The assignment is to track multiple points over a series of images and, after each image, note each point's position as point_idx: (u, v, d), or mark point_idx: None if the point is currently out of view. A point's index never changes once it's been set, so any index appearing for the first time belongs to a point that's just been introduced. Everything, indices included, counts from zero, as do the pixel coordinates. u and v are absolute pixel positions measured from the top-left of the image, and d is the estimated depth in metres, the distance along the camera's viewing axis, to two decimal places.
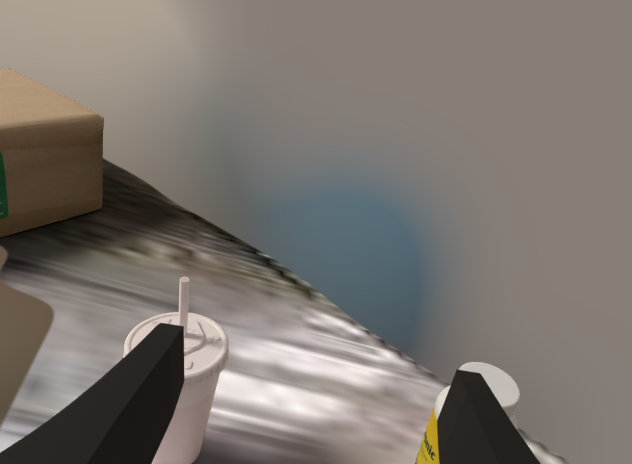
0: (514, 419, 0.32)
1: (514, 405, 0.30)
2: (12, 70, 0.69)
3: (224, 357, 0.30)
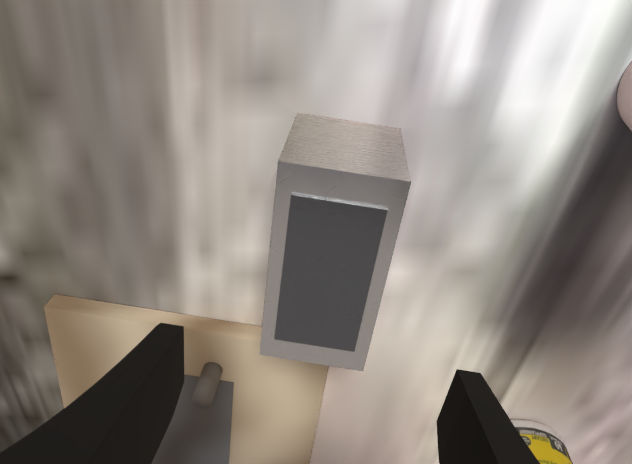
0: None
1: None
2: None
3: None
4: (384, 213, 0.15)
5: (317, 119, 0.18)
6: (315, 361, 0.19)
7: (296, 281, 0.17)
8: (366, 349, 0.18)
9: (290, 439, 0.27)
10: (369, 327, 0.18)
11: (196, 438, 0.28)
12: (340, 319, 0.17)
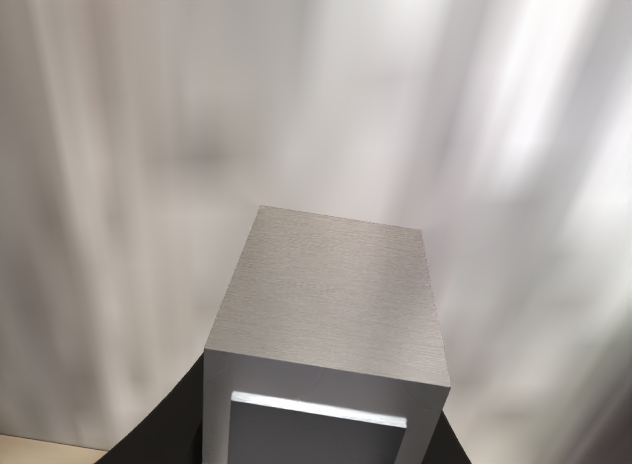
0: None
1: None
2: None
3: None
4: (401, 431, 0.08)
5: (290, 221, 0.12)
6: None
7: None
8: None
9: None
10: None
11: None
12: None
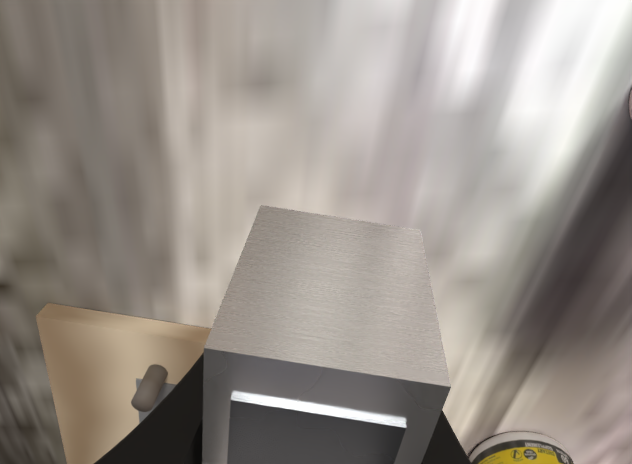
0: None
1: None
2: None
3: None
4: (401, 431, 0.08)
5: (290, 221, 0.12)
6: None
7: None
8: None
9: None
10: None
11: None
12: None
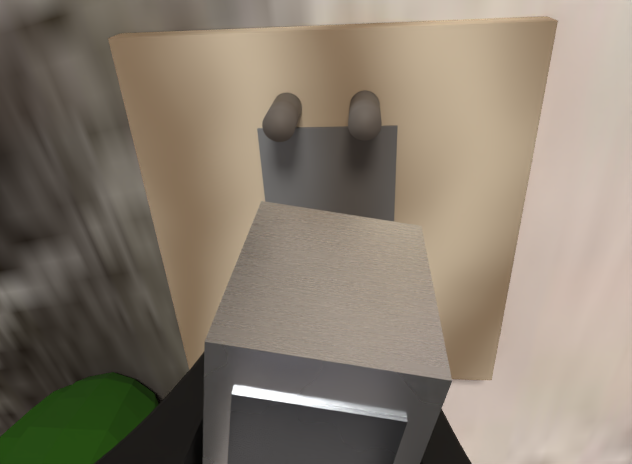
0: None
1: None
2: None
3: None
4: (402, 425, 0.08)
5: (291, 216, 0.12)
6: None
7: None
8: None
9: (484, 223, 0.18)
10: None
11: None
12: None
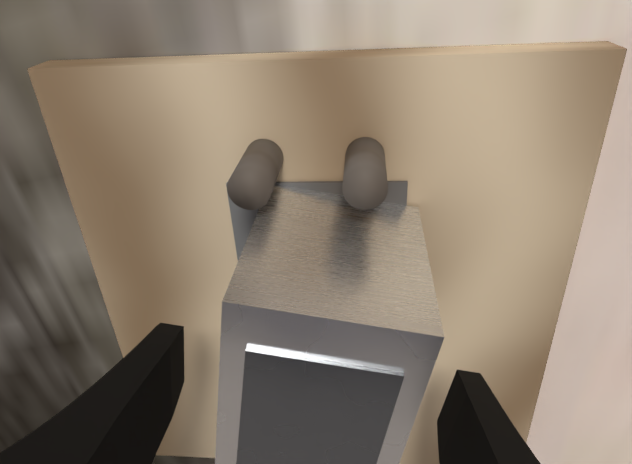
0: None
1: None
2: None
3: None
4: (400, 380, 0.09)
5: (297, 197, 0.13)
6: None
7: (260, 459, 0.11)
8: None
9: (517, 299, 0.14)
10: None
11: None
12: None
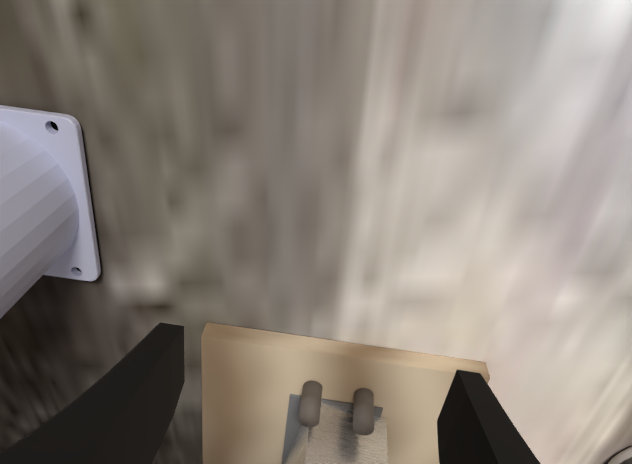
0: None
1: None
2: None
3: None
4: None
5: (326, 411, 0.25)
6: None
7: None
8: None
9: (430, 462, 0.27)
10: None
11: None
12: None
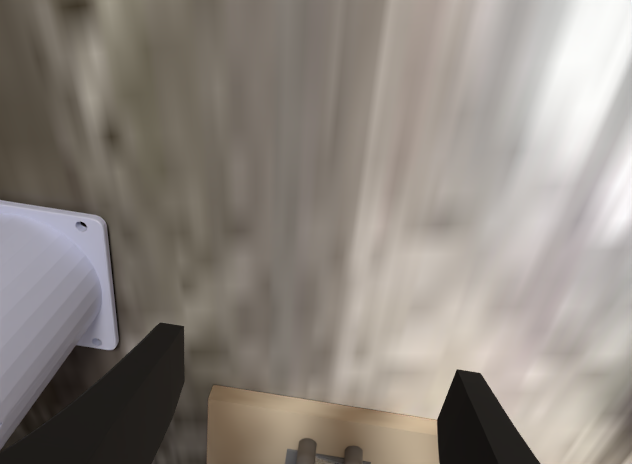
0: None
1: None
2: None
3: None
4: None
5: None
6: None
7: None
8: None
9: None
10: None
11: None
12: None
